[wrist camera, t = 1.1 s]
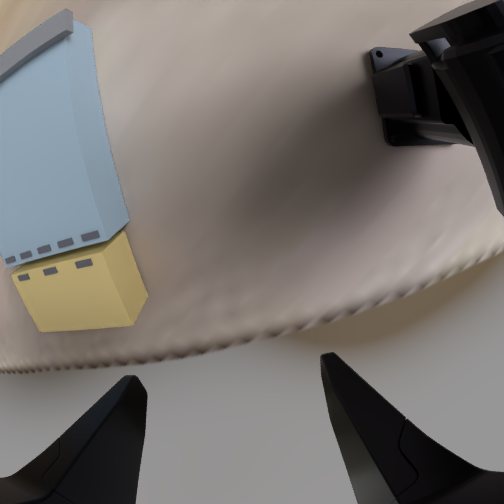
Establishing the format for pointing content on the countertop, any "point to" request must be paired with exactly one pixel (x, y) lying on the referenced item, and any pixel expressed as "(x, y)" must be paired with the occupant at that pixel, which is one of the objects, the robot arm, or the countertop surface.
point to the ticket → (54, 146)
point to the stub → (83, 287)
